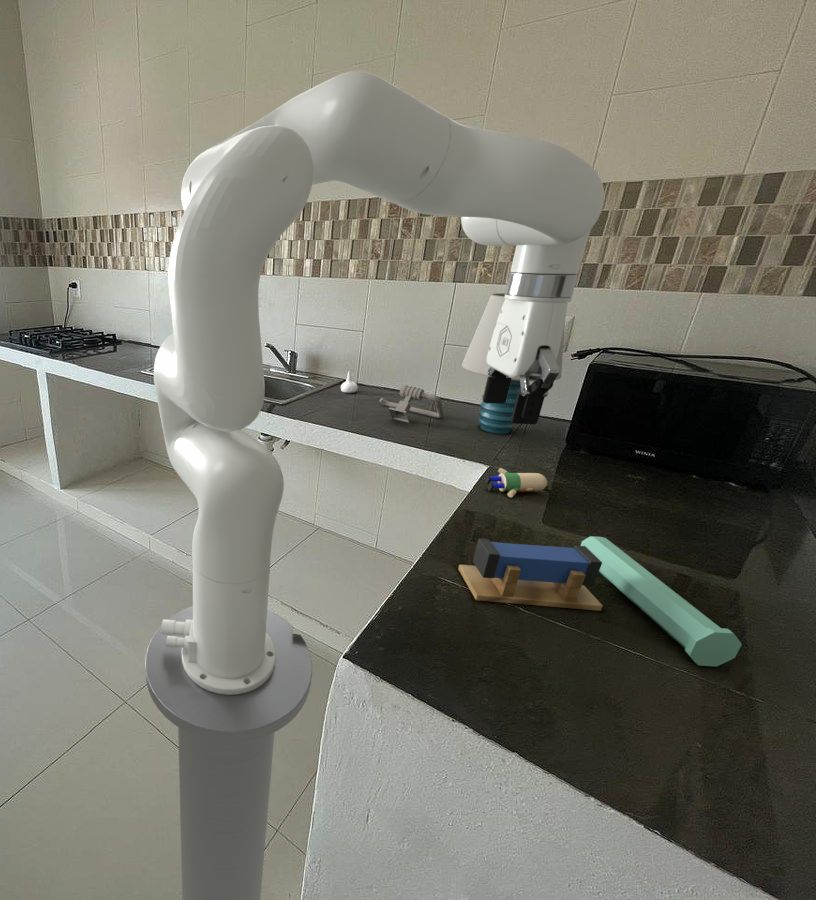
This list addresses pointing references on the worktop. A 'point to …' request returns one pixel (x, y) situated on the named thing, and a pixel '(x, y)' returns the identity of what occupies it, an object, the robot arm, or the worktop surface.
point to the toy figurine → (517, 482)
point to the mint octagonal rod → (665, 606)
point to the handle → (536, 561)
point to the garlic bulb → (349, 385)
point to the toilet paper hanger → (404, 406)
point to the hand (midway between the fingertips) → (507, 412)
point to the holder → (530, 589)
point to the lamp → (491, 414)
